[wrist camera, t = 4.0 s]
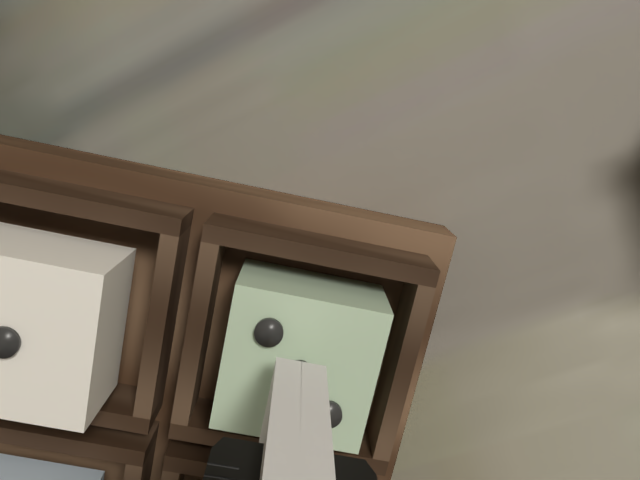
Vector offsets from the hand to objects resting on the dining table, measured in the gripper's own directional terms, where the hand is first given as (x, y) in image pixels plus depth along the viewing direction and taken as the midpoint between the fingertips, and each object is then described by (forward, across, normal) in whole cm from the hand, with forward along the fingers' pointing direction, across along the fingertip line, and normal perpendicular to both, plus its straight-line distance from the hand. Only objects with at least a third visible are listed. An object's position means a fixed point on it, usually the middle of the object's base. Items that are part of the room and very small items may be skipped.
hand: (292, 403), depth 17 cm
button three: (+4, 0, 0) cm, 4 cm away
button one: (+3, +8, 0) cm, 9 cm away
